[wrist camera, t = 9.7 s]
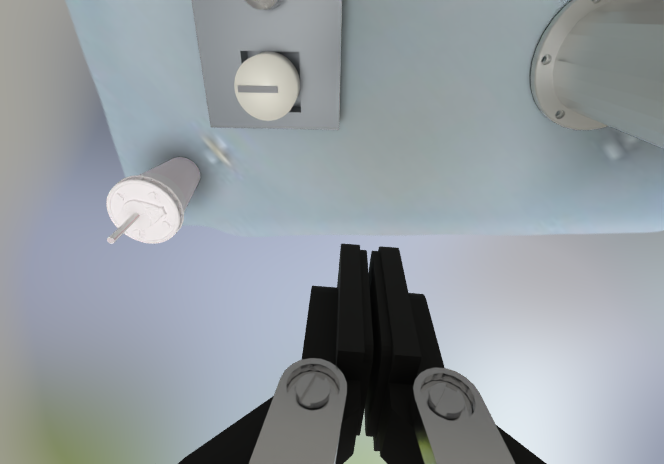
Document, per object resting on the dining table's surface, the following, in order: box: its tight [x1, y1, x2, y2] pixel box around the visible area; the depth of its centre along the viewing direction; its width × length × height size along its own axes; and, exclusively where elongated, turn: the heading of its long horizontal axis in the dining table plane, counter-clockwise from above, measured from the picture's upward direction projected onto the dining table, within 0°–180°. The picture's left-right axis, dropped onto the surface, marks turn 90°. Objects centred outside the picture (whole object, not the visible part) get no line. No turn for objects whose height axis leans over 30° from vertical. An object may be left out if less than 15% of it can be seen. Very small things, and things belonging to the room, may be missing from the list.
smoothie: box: [107, 157, 200, 244], centre depth 35 cm, size 6×6×14 cm
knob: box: [234, 52, 300, 121], centre depth 32 cm, size 5×5×6 cm
